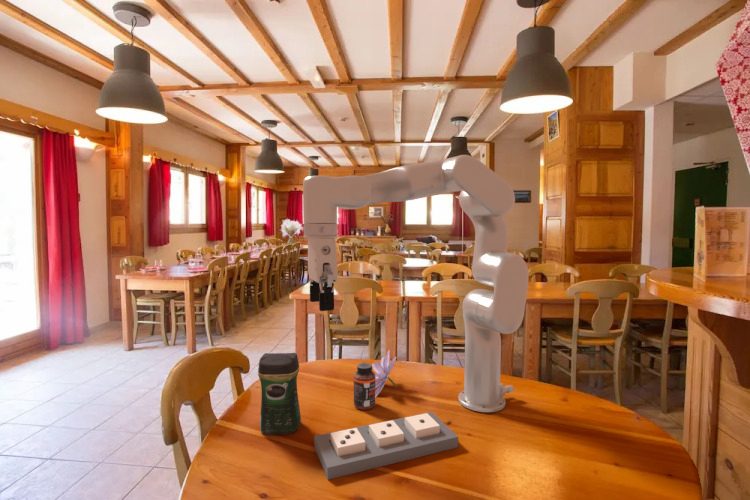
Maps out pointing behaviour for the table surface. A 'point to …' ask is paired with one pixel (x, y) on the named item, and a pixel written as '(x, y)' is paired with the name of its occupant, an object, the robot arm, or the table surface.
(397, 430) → the tile
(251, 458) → the table surface
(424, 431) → the tile
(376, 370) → the water lily
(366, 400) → the supplement bottle
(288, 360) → the coffee jar
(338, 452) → the tile
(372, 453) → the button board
